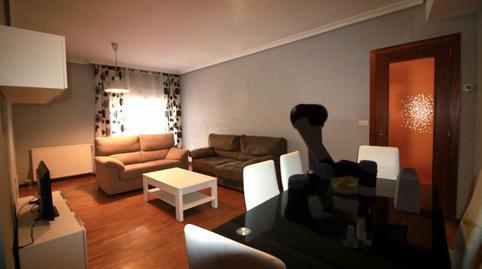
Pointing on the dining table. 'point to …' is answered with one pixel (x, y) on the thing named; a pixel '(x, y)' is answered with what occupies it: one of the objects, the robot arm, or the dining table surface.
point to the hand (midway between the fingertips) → (363, 237)
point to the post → (350, 238)
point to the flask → (397, 232)
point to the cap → (361, 229)
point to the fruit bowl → (344, 186)
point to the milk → (407, 191)
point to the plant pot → (326, 200)
